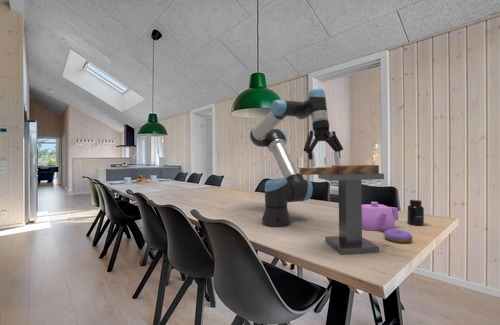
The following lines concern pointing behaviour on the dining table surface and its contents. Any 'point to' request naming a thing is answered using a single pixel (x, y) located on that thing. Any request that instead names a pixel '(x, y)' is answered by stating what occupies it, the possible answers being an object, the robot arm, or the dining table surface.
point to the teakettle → (378, 217)
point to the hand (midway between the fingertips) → (325, 166)
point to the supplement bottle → (415, 213)
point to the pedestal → (350, 214)
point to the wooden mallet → (341, 170)
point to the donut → (398, 236)
